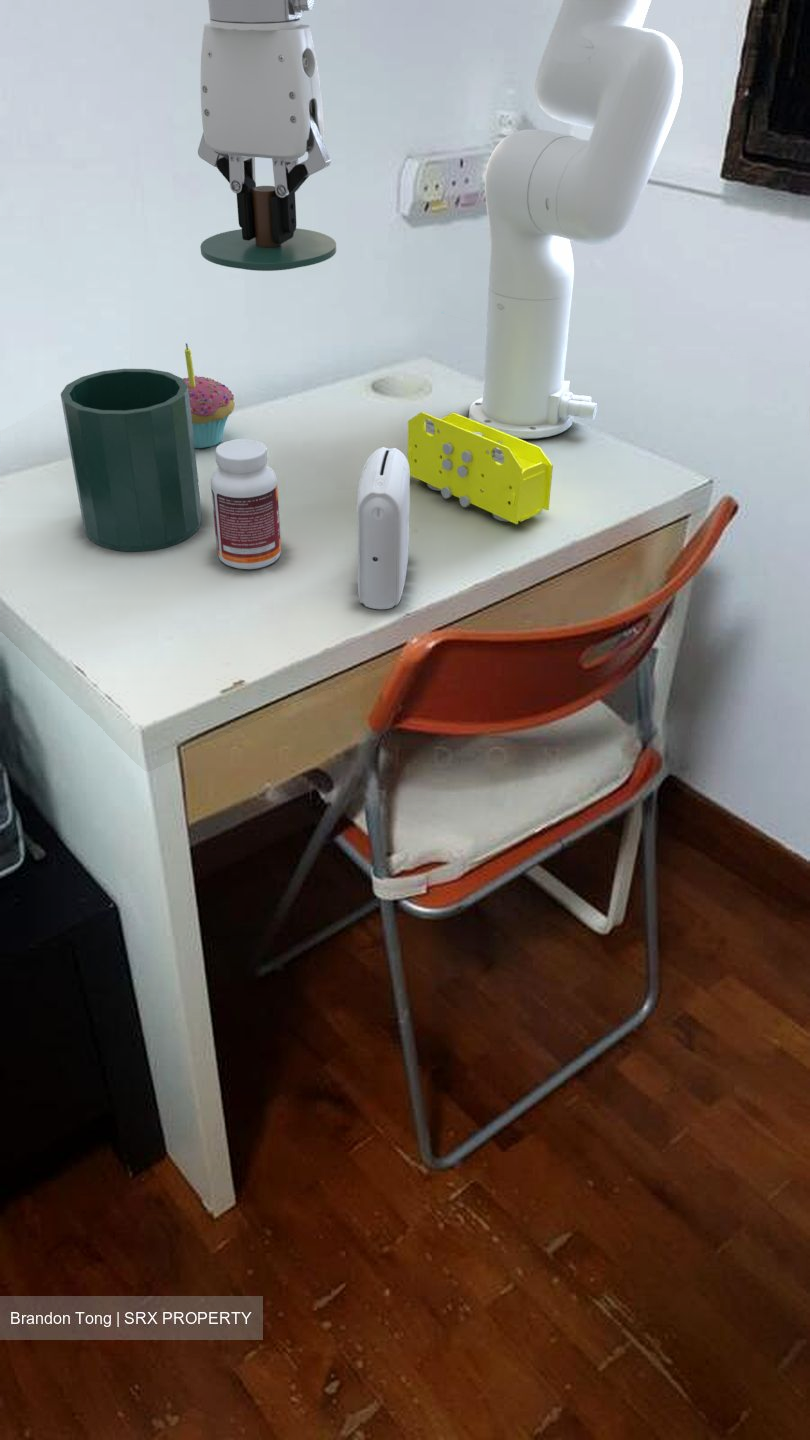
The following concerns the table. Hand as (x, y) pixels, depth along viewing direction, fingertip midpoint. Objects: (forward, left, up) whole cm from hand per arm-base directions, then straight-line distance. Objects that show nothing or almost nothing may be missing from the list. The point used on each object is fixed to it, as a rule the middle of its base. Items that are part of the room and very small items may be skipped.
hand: (268, 236), depth 106 cm
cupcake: (+15, -10, -26) cm, 32 cm away
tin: (+10, +11, -26) cm, 30 cm away
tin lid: (0, 0, -1) cm, 1 cm away
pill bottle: (-3, +13, -26) cm, 30 cm away
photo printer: (-17, +13, -26) cm, 34 cm away
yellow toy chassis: (-19, -7, -26) cm, 33 cm away
